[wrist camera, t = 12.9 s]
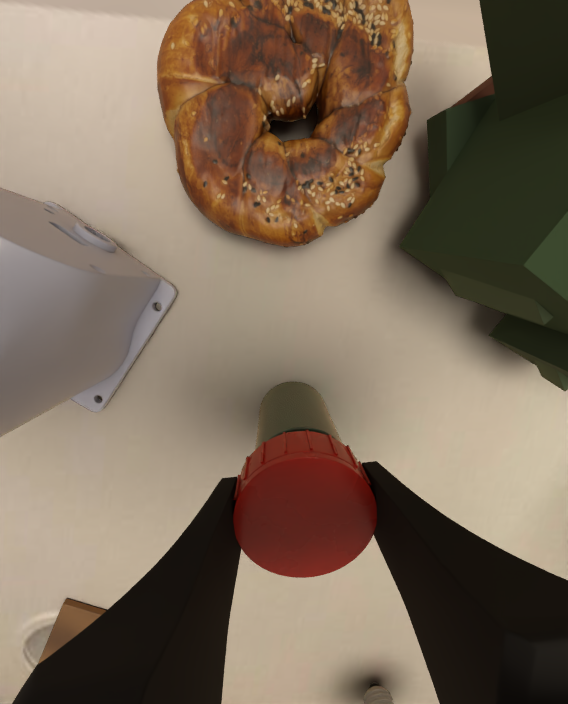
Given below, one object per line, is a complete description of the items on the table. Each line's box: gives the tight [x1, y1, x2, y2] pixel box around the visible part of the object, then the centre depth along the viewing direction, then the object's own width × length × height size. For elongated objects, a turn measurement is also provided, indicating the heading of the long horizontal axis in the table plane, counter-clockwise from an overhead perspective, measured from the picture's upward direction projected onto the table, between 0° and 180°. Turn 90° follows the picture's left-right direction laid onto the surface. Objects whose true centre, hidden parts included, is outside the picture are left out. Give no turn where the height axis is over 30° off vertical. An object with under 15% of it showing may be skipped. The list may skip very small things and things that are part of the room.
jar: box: [255, 382, 342, 450], centre depth 15 cm, size 4×4×8 cm
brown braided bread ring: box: [157, 0, 413, 247], centre depth 13 cm, size 12×11×4 cm
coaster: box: [38, 599, 106, 664], centre depth 23 cm, size 11×11×1 cm
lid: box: [233, 430, 377, 578], centre depth 11 cm, size 5×5×2 cm
